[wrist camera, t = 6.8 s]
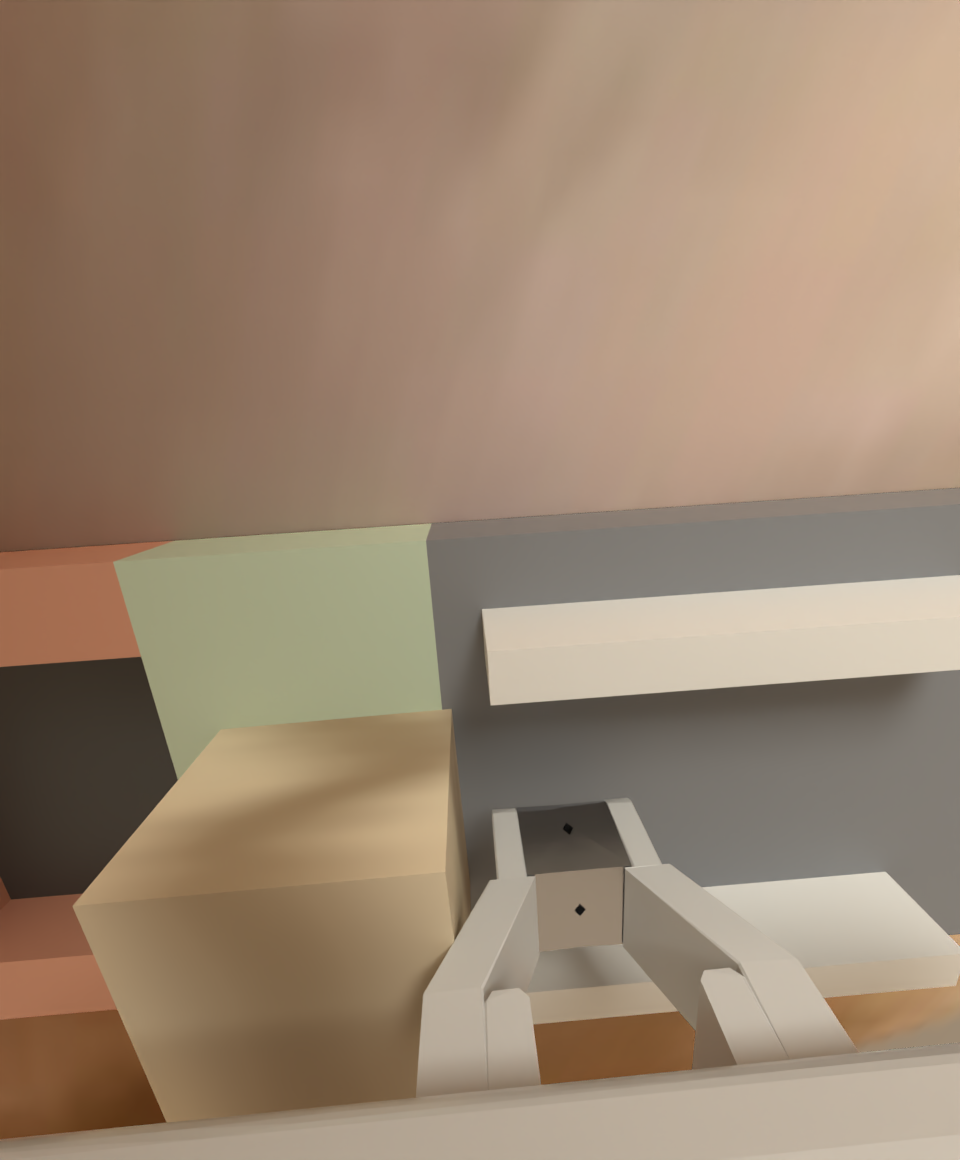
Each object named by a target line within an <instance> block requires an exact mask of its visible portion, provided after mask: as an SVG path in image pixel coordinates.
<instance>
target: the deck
mask: <svg viewBox="0 0 960 1160" xmlns="http://www.w3.org/2000/svg"><path fill="white" fill-rule="evenodd" d="M169 542H172V541H161V542H146V543H132V544H117V545H102V546H87V547H72V548H57V549H42V550H27V551H13V552H0V1020H3V1019H14V1018H25V1017H36V1016H48V1015H59V1014H70V1013H81V1012H92V1011H104V1010H115V1009H117V1008H116V1005H115V1003H114V1001H113V998H112V996H111V994H110V992H109V989H108V987H107V985H106V982H105V980H104V978H103V975H102V973H101V971H100V969H99V966H98V964H97V962H96V959H95V957H94V955H93V953H92V950H91V948H90V946H89V943H88V941H87V939H86V936H85V934H84V932H83V930H82V927H81V925H80V923H79V920H78V918H77V916H76V914H75V911H74V909H73V907H72V906H73V905H74V903H75V902H76V901H77V900H78V899H79V898H80V896H81V895H82V894H83V893H84V892H85V890H86V889H87V888H88V887H89V886H90V884H91V883H92V882H93V881H94V880H95V878H96V877H97V876H98V875H99V874H100V873H101V871H102V870H103V869H104V868H105V867H106V865H107V864H108V863H109V862H110V861H111V859H112V858H113V857H114V856H115V855H116V853H117V852H118V851H119V850H120V849H121V848H122V846H123V845H124V844H125V843H126V842H127V840H128V839H129V838H130V837H131V836H132V834H133V833H134V832H135V831H136V830H137V828H138V827H139V826H140V825H141V824H142V823H143V821H144V820H145V819H146V818H147V817H148V815H149V814H150V813H151V812H152V811H153V809H154V808H155V807H156V806H157V805H158V803H159V802H160V801H161V800H162V799H163V798H164V796H165V795H166V794H167V793H168V792H169V790H170V789H171V788H172V787H173V786H174V784H175V783H176V782H177V781H178V779H177V775H176V772H175V769H174V765H173V762H172V758H171V755H170V752H169V748H168V745H167V742H166V738H165V735H164V732H163V728H162V725H161V722H160V718H159V715H158V711H157V708H156V705H155V701H154V698H153V695H152V691H151V688H150V685H149V681H148V678H147V675H146V671H145V668H144V665H143V661H142V658H141V654H140V651H139V648H138V644H137V641H136V638H135V634H134V631H133V628H132V624H131V621H130V618H129V614H128V611H127V607H126V604H125V601H124V597H123V594H122V591H121V587H120V584H119V581H118V577H117V574H116V571H115V567H114V564H113V562H114V561H117V560H120V559H123V558H126V557H129V556H132V555H134V554H137V553H140V552H143V551H146V550H149V549H152V548H155V547H158V546H160V545H163V544H166V543H169ZM426 546H427V557H428V567H429V578H430V588H431V598H432V609H433V619H434V630H435V640H436V650H437V661H438V671H439V682H440V692H441V703H442V710H444V709H452V717H453V726H454V736H455V745H456V755H457V764H458V773H459V783H460V792H461V802H462V811H463V821H464V830H465V840H466V849H467V858H468V868H469V877H470V897H471V911H472V910H473V908H474V906H475V904H476V903H477V901H478V899H479V898H480V896H481V894H482V892H483V891H484V889H485V887H486V886H487V884H488V882H489V880H496V879H497V877H496V864H495V851H494V839H493V826H492V810H493V809H511V808H515V809H516V808H517V807H532V806H548V805H561V804H571V803H581V802H591V801H601V800H602V801H604V800H609V799H618V798H629V799H630V800H631V801H632V803H633V805H634V807H635V810H636V812H637V814H638V816H639V818H640V820H641V822H642V824H643V826H644V828H645V830H646V832H647V834H648V836H649V838H650V840H651V842H652V844H653V847H654V849H655V851H656V853H657V855H658V857H659V859H660V861H661V863H662V864H671V865H672V866H674V867H675V868H676V869H678V870H679V871H680V872H682V873H683V874H684V875H686V876H687V877H688V878H690V879H691V880H692V881H694V882H695V883H696V884H698V885H699V886H700V887H712V886H724V885H735V884H747V883H759V882H770V881H782V880H794V879H805V878H817V877H829V876H840V875H852V874H864V873H875V872H886V873H887V874H888V875H889V876H890V877H891V878H892V879H893V880H894V881H895V882H896V883H897V884H898V885H899V886H900V887H901V888H902V889H903V890H904V891H905V892H906V893H907V894H908V895H909V896H910V897H911V898H912V899H913V900H914V901H915V902H916V903H917V904H918V905H919V906H920V907H921V908H922V909H923V910H924V911H925V912H926V913H927V914H928V915H929V916H930V917H931V918H932V919H933V920H934V921H935V922H936V923H937V924H938V925H939V926H940V927H941V928H942V929H943V930H944V931H945V932H946V933H947V934H948V935H955V934H960V670H950V671H937V672H924V673H911V674H897V675H884V676H871V677H858V678H845V679H832V680H819V681H806V682H792V683H779V684H766V685H753V686H740V687H727V688H714V689H701V690H688V691H674V692H661V693H648V694H635V695H622V696H609V697H596V698H583V699H569V700H556V701H543V702H530V703H517V704H504V705H490V696H489V687H488V679H487V670H486V662H485V652H484V637H483V621H482V609H492V608H506V607H520V606H534V605H548V604H562V603H576V602H590V601H604V600H618V599H632V598H646V597H660V596H673V595H687V594H701V593H715V592H729V591H743V590H757V589H771V588H785V587H799V586H813V585H827V584H841V583H855V582H869V581H883V580H897V579H911V578H925V577H939V576H953V575H960V488H950V489H935V490H920V491H905V492H890V493H875V494H860V495H845V496H831V497H816V498H801V499H786V500H771V501H756V502H741V503H726V504H712V505H697V506H682V507H667V508H652V509H637V510H622V511H607V512H593V513H578V514H563V515H548V516H533V517H518V518H503V519H489V520H474V521H459V522H444V523H432V524H431V527H430V530H429V533H428V536H427V539H426Z"/></svg>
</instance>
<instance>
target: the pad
mask: <svg viewBox="0 0 960 1160" xmlns="http://www.w3.org/2000/svg"><path fill="white" fill-rule="evenodd" d="M431 524H432V523H430V524H415V525H400V526H385V527H370V528H355V529H340V530H326V531H311V532H296V533H281V534H266V535H251V536H236V537H221V538H207V539H192V540H177V541H172V542H169V543H166V544H163V545H160V546H158V547H155V548H152V549H149V550H146V551H143V552H140V553H137V554H134V555H132V556H129V557H126V558H123V559H120V560H117V561H114V562H113V564H114V567H115V571H116V574H117V577H118V581H119V584H120V587H121V591H122V594H123V597H124V601H125V604H126V607H127V611H128V614H129V618H130V621H131V624H132V628H133V631H134V634H135V638H136V641H137V644H138V648H139V651H140V654H141V658H142V661H143V665H144V668H145V671H146V675H147V678H148V681H149V685H150V688H151V691H152V695H153V698H154V701H155V705H156V708H157V711H158V715H159V718H160V722H161V725H162V728H163V732H164V735H165V738H166V742H167V745H168V748H169V752H170V755H171V758H172V762H173V765H174V769H175V772H176V775H177V779H178V780H179V778H180V777H181V776H182V775H183V774H184V773H185V771H186V770H187V769H188V768H189V767H190V765H191V764H192V763H193V762H194V761H195V759H196V758H197V757H198V756H199V755H200V753H201V752H202V751H203V750H204V749H205V748H206V746H207V745H208V744H209V743H210V742H211V740H212V739H213V738H214V737H215V736H216V734H217V733H218V732H219V731H220V730H221V729H231V728H242V727H253V726H265V725H276V724H287V723H298V722H310V721H321V720H332V719H343V718H354V717H366V716H377V715H388V714H399V713H411V712H422V711H433V710H442V703H441V692H440V682H439V671H438V661H437V650H436V640H435V630H434V619H433V609H432V598H431V588H430V578H429V567H428V557H427V546H426V539H427V536H428V533H429V530H430V527H431Z"/></svg>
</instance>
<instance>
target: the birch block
mask: <svg viewBox="0 0 960 1160" xmlns="http://www.w3.org/2000/svg"><path fill="white" fill-rule="evenodd" d="M72 907H73V909H74V911H75V914H76V916H77V918H78V920H79V923H80V925H81V927H82V930H83V932H84V934H85V936H86V939H87V941H88V943H89V946H90V948H91V950H92V953H93V955H94V957H95V959H96V962H97V964H98V966H99V969H100V971H101V973H102V975H103V978H104V980H105V982H106V985H107V987H108V989H109V992H110V994H111V996H112V998H113V1001H114V1003H115V1005H116V1008H117V1010H118V1012H119V1014H120V1017H121V1019H122V1021H123V1024H124V1026H125V1028H126V1031H127V1033H128V1035H129V1037H130V1040H131V1042H132V1044H133V1047H134V1049H135V1051H136V1053H137V1056H138V1058H139V1060H140V1063H141V1065H142V1067H143V1070H144V1072H145V1074H146V1076H147V1079H148V1081H149V1083H150V1086H151V1088H152V1090H153V1092H154V1095H155V1097H156V1099H157V1102H158V1104H159V1106H160V1109H161V1111H162V1113H163V1115H164V1118H165V1120H166V1122H167V1123H168V1122H178V1121H188V1120H198V1119H208V1118H218V1117H228V1116H238V1115H248V1114H257V1113H267V1112H277V1111H287V1110H297V1109H307V1108H317V1107H327V1106H337V1105H347V1104H357V1103H367V1102H377V1101H387V1100H396V1099H406V1098H416V1087H417V1073H418V1060H419V1046H420V1032H421V1018H422V1004H423V994H424V992H425V990H426V989H427V987H428V985H429V983H430V982H431V980H432V978H433V977H434V975H435V973H436V971H437V970H438V968H439V966H440V965H441V963H442V961H443V959H444V958H445V956H446V954H447V953H448V951H449V949H450V947H451V946H452V944H454V941H455V939H456V937H457V935H458V934H459V932H460V930H461V929H462V927H463V925H464V923H465V922H466V920H467V918H468V917H469V915H470V913H471V897H470V877H469V868H468V858H467V849H466V840H465V830H464V821H463V811H462V802H461V792H460V783H459V773H458V764H457V755H456V745H455V736H454V726H453V717H452V709H444V710H433V711H422V712H411V713H399V714H388V715H377V716H366V717H354V718H343V719H332V720H321V721H310V722H298V723H287V724H276V725H265V726H253V727H242V728H231V729H221V730H220V731H219V732H218V733H217V734H216V736H215V737H214V738H213V739H212V740H211V742H210V743H209V744H208V745H207V746H206V748H205V749H204V750H203V751H202V752H201V753H200V755H199V756H198V757H197V758H196V759H195V761H194V762H193V763H192V764H191V765H190V767H189V768H188V769H187V770H186V771H185V773H184V774H183V775H182V776H181V777H180V778H179V780H178V781H177V782H176V783H175V784H174V786H173V787H172V788H171V789H170V790H169V792H168V793H167V794H166V795H165V796H164V798H163V799H162V800H161V801H160V802H159V803H158V805H157V806H156V807H155V808H154V809H153V811H152V812H151V813H150V814H149V815H148V817H147V818H146V819H145V820H144V821H143V823H142V824H141V825H140V826H139V827H138V828H137V830H136V831H135V832H134V833H133V834H132V836H131V837H130V838H129V839H128V840H127V842H126V843H125V844H124V845H123V846H122V848H121V849H120V850H119V851H118V852H117V853H116V855H115V856H114V857H113V858H112V859H111V861H110V862H109V863H108V864H107V865H106V867H105V868H104V869H103V870H102V871H101V873H100V874H99V875H98V876H97V877H96V878H95V880H94V881H93V882H92V883H91V884H90V886H89V887H88V888H87V889H86V890H85V892H84V893H83V894H82V895H81V896H80V898H79V899H78V900H77V901H76V902H75V903H74V905H73V906H72Z"/></svg>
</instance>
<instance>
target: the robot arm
mask: <svg viewBox="0 0 960 1160" xmlns="http://www.w3.org/2000/svg"><path fill="white" fill-rule="evenodd" d="M492 826H493V839H494V851H495V864H496V877H497V879H496V880H489V882H488V884H487V886H486V887H485V889H484V891H483V892H482V894H481V896H480V898H479V899H478V901H477V903H476V904H475V906H474V908H473V910H472V911H471V913H470V915H469V917H468V918H467V920H466V922H465V923H464V925H463V927H462V929H461V930H460V932H459V934H458V935H457V937H456V939H455V941H454V944H452V946H451V947H450V949H449V951H448V953H447V954H446V956H445V958H444V959H443V961H442V963H441V965H440V966H439V968H438V970H437V971H436V973H435V975H434V977H433V978H432V980H431V982H430V983H429V985H428V987H427V989H426V990H425V992H424V994H423V1004H422V1018H421V1032H420V1046H419V1060H418V1073H417V1087H416V1098H406V1099H396V1100H387V1101H377V1102H367V1103H357V1104H347V1105H337V1106H327V1107H317V1108H307V1109H297V1110H287V1111H277V1112H267V1113H257V1114H248V1115H238V1116H228V1117H218V1118H208V1119H198V1120H188V1121H178V1122H168V1123H158V1124H148V1125H138V1126H128V1127H118V1128H108V1129H98V1130H88V1131H78V1132H68V1133H58V1134H48V1135H38V1136H28V1137H18V1138H8V1139H0V1160H960V1042H959V1043H949V1044H940V1045H929V1046H920V1047H910V1048H900V1049H890V1050H880V1051H870V1052H860V1053H859V1052H858V1050H857V1049H856V1047H855V1045H854V1044H853V1042H852V1041H851V1039H850V1038H849V1036H848V1035H847V1033H846V1032H845V1030H844V1029H843V1027H842V1026H841V1024H840V1023H839V1021H838V1020H837V1018H836V1016H835V1015H834V1013H833V1012H832V1010H831V1009H830V1007H829V1006H828V1004H827V1003H826V1001H825V1000H824V998H823V997H822V995H821V994H820V992H819V990H818V989H817V987H816V986H815V984H814V983H813V981H812V980H811V978H810V977H809V975H808V974H807V972H806V971H805V969H804V968H803V966H802V965H801V963H800V961H799V960H798V959H797V958H796V957H794V956H793V955H792V954H790V953H789V952H788V951H786V950H785V949H784V948H782V947H781V946H780V945H778V944H777V943H776V942H774V941H773V940H772V939H770V938H769V937H768V936H766V935H765V934H764V933H762V932H761V931H760V930H758V929H757V928H755V927H754V926H753V925H751V924H750V923H749V922H747V921H746V920H745V919H743V918H742V917H741V916H739V915H738V914H737V913H735V912H734V911H733V910H731V909H730V908H729V907H727V906H726V905H725V904H723V903H722V902H721V901H719V900H718V899H717V898H715V897H714V896H712V895H711V894H710V893H708V892H707V891H706V890H704V889H703V888H702V887H700V886H699V885H698V884H696V883H695V882H694V881H692V880H691V879H690V878H688V877H687V876H686V875H684V874H683V873H682V872H680V871H679V870H678V869H676V868H675V867H674V866H672V865H671V864H662V863H661V861H660V859H659V857H658V855H657V853H656V851H655V849H654V847H653V844H652V842H651V840H650V838H649V836H648V834H647V832H646V830H645V828H644V826H643V824H642V822H641V820H640V818H639V816H638V814H637V812H636V810H635V807H634V805H633V803H632V801H631V800H630V799H629V798H618V799H609V800H604V801H602V800H601V801H591V802H581V803H571V804H561V805H548V806H532V807H517V808H516V809H515V808H511V809H493V810H492ZM619 944H623V947H624V949H625V950H626V951H627V952H628V953H629V954H630V956H631V957H632V958H633V959H634V960H635V961H636V963H637V964H638V965H639V966H640V967H641V968H642V969H643V971H644V972H645V973H646V974H647V975H648V976H649V978H650V979H651V980H652V981H653V982H654V983H655V985H656V986H657V987H658V988H659V989H660V990H661V992H662V993H663V994H664V995H665V996H666V997H667V998H668V1000H669V1001H670V1002H671V1003H672V1004H673V1005H674V1007H675V1008H676V1009H677V1010H678V1011H679V1012H680V1014H681V1015H682V1016H683V1017H684V1018H685V1019H686V1020H687V1022H688V1023H689V1024H690V1025H691V1026H692V1027H693V1029H694V1030H695V1031H696V1033H695V1043H694V1054H693V1064H692V1070H683V1071H673V1072H663V1073H653V1074H644V1075H634V1076H624V1077H614V1078H604V1079H594V1080H585V1081H575V1082H565V1083H555V1084H545V1085H541V1080H540V1072H539V1065H538V1057H537V1050H536V1042H535V1035H534V1028H533V1020H532V1013H531V1005H530V998H529V996H528V995H527V994H526V993H527V990H528V987H529V984H530V982H531V979H532V976H533V973H534V970H535V967H536V964H537V961H538V958H539V952H545V951H552V950H560V949H568V948H576V947H587V946H603V945H619Z"/></svg>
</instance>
